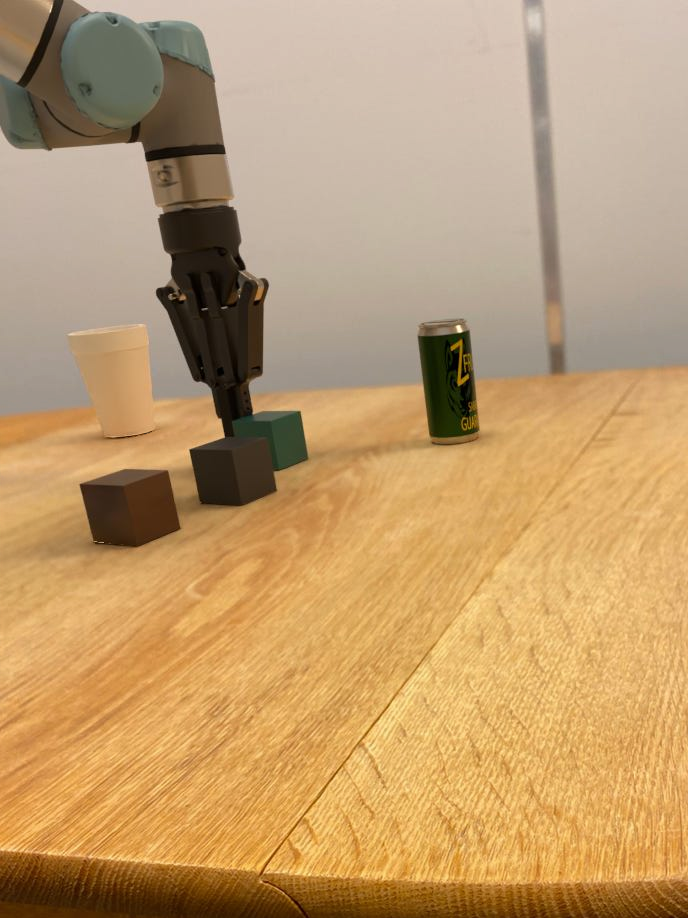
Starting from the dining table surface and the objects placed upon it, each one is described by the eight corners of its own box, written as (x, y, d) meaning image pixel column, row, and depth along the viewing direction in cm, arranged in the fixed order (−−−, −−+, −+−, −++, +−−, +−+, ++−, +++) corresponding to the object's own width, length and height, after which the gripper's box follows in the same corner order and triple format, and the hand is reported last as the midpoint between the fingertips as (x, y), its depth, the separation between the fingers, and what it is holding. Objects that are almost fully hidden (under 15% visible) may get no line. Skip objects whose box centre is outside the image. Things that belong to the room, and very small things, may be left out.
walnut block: (93, 543, 87) (79, 483, 86) (138, 525, 91) (124, 468, 90) (137, 546, 85) (123, 485, 83) (180, 528, 89) (168, 469, 87)
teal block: (240, 469, 109) (231, 421, 107) (271, 457, 113) (262, 410, 111) (278, 470, 107) (270, 420, 105) (308, 458, 111) (300, 410, 109)
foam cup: (135, 440, 132) (111, 332, 127) (77, 442, 135) (51, 337, 130) (181, 424, 140) (160, 322, 135) (124, 426, 143) (102, 326, 138)
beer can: (421, 445, 111) (407, 327, 106) (441, 434, 115) (428, 320, 111) (469, 444, 109) (456, 323, 104) (487, 433, 113) (476, 316, 109)
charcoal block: (199, 503, 97) (188, 449, 95) (235, 489, 101) (226, 436, 99) (242, 505, 94) (231, 449, 93) (277, 490, 98) (267, 437, 97)
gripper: (118, 216, 102) (170, 457, 111) (221, 203, 96) (267, 459, 105) (173, 211, 108) (218, 440, 117) (273, 199, 102) (312, 441, 111)
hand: (241, 449), depth 111 cm, fingers closed
